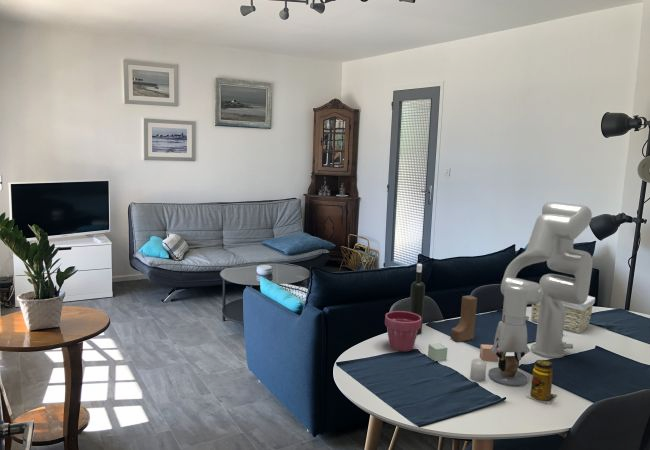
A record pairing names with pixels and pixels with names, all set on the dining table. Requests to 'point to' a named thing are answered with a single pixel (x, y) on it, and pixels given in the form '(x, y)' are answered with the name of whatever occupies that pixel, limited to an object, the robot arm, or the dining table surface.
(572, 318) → the storage basket
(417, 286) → the wine bottle
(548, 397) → the condiment
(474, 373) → the grey cylinder
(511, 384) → the slate coaster
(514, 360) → the walnut block
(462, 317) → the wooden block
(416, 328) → the plant pot
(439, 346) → the sage cube
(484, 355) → the terracotta brick
